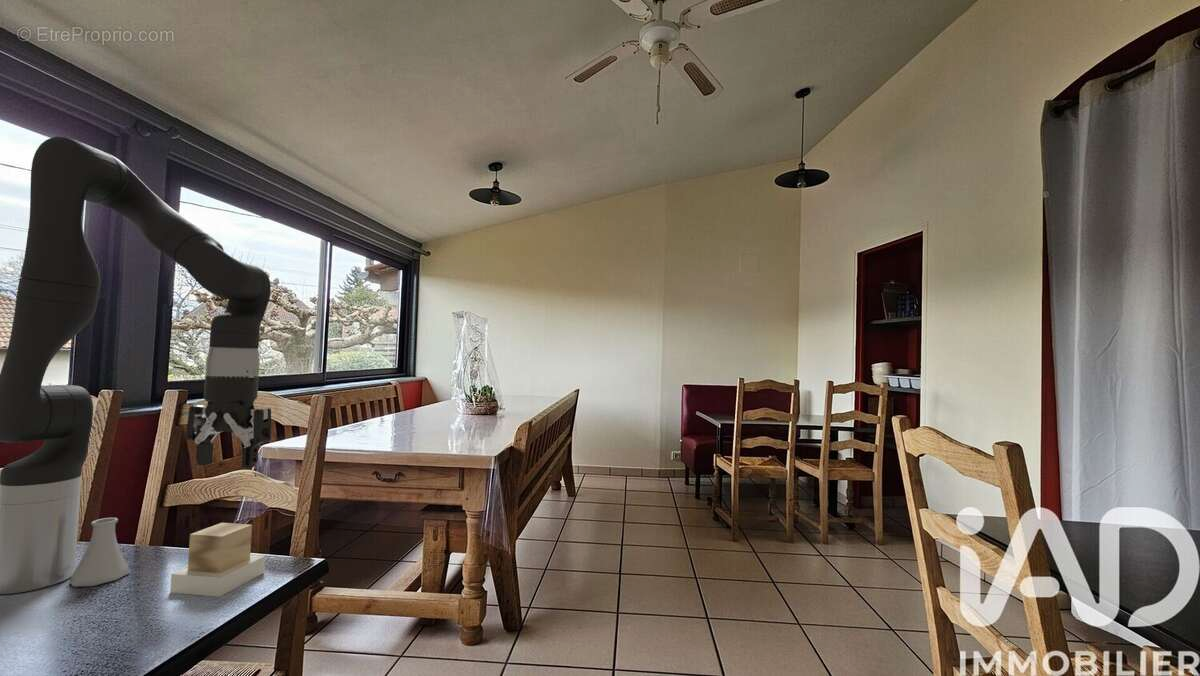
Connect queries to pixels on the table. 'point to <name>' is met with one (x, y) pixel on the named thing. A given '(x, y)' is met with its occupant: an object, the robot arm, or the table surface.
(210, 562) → the oak block
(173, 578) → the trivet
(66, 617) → the table surface
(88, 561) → the flask
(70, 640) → the table surface
